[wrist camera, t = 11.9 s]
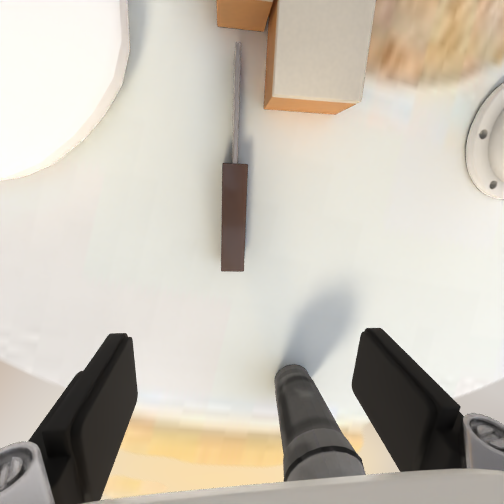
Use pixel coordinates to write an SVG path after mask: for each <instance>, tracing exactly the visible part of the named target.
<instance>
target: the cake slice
mask: <svg viewBox="0 0 504 504" xmlns="http://www.w3.org/2000/svg"><path fill="white" fill-rule="evenodd" d="M272 3H273V0H217V26H218V27H227V28H236V29H244V30H253V31H262V32H264V30H265V26H266V23H267V20H268V16H269V13H270V9H271V6H272Z"/></svg>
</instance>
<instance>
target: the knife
mask: <svg viewBox="0 0 504 504" xmlns="http://www.w3.org/2000/svg"><path fill="white" fill-rule="evenodd" d="M240 58H241V42H236V46H235V55H234V96H233V140H232V164H230V163H223V168H222V245H221V271H244V251H245V226H246V200H247V174H248V165H247V164H237V163H238V129H239V93H240Z"/></svg>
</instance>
